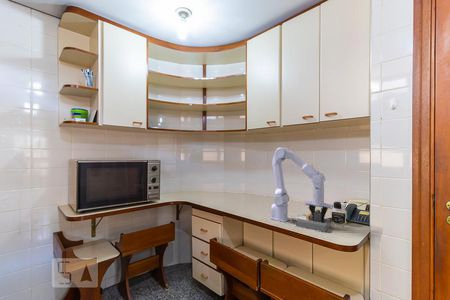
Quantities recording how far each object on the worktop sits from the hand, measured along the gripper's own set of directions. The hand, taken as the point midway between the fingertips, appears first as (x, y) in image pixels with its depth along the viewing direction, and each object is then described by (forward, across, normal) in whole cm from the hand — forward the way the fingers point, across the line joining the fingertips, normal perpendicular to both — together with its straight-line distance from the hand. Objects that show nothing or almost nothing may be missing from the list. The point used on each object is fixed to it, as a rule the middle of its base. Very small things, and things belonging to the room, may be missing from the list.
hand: (318, 219), depth 122 cm
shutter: (+1, +8, 0) cm, 8 cm away
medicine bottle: (+4, -8, -16) cm, 18 cm away
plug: (+2, 0, 0) cm, 2 cm away
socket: (+4, +2, 0) cm, 5 cm away
